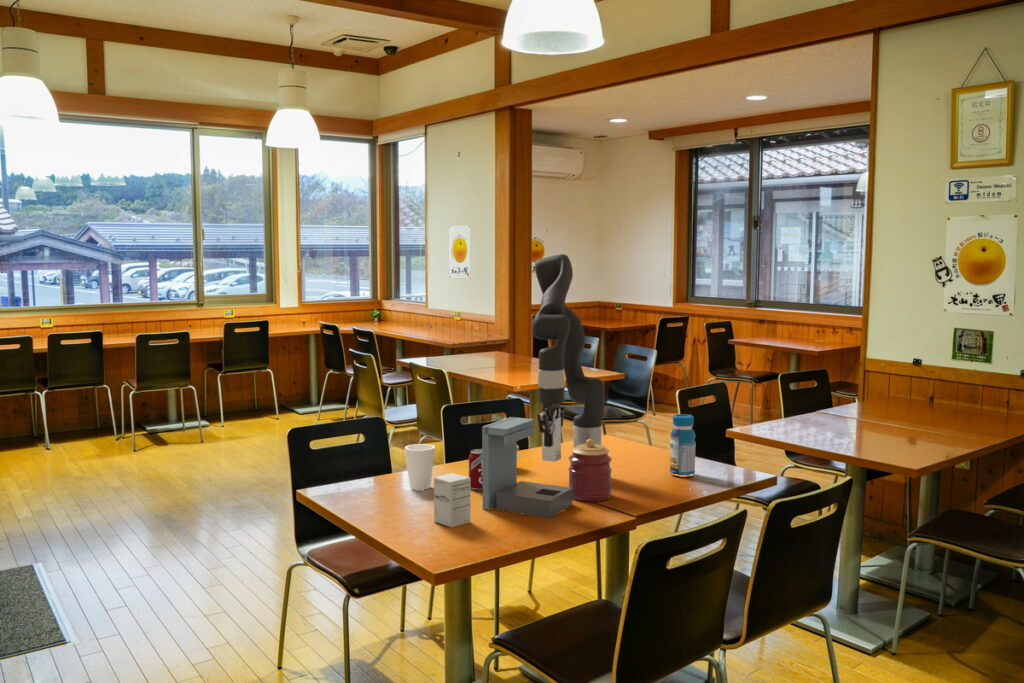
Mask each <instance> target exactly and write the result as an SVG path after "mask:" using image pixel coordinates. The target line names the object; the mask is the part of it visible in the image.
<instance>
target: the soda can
mask: <svg viewBox="0 0 1024 683" xmlns="http://www.w3.org/2000/svg"><path fill="white" fill-rule="evenodd" d="M468 477H469V478H471V483H470V490H473V491H476V490H483V477H482V448H477V449H476V448H475V449H471V450H470V454H469V456H468Z"/></svg>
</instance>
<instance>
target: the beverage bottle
mask: <svg viewBox="0 0 1024 683" xmlns="http://www.w3.org/2000/svg"><path fill="white" fill-rule="evenodd" d="M694 420H695V418H694V416H693V415H692V414H684V413H681V414H680V413H679V414H678V413H676V414H674V415H673V417H672V426H673V429H672V430H671V431H670V435H669V436H670V438H671V439H670V442H669V447H670V449H669V450H670V452H669V453H670V457H669V458H670V459H669V461H670V462H669V465H670V467H669V473H670V472H671V473H673V474H678V475H690V474H694V473H695V472H696V447H697V443H696V441H695V440H696V433H695V429H693V426H695V425H694V424H695V421H694ZM695 474H696V473H695Z"/></svg>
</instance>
